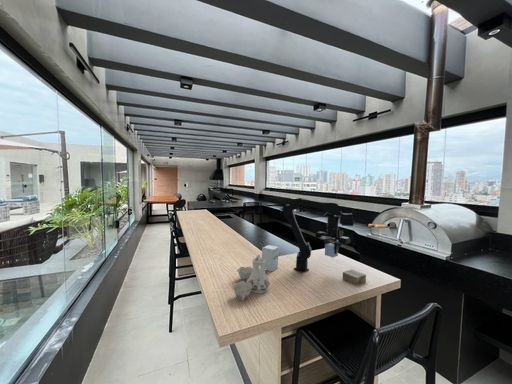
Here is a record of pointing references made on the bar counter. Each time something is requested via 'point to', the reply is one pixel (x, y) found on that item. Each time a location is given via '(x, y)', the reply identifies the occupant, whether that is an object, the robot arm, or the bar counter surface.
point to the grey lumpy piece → (252, 279)
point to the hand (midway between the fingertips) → (331, 252)
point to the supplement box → (270, 257)
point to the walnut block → (354, 277)
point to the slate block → (330, 250)
